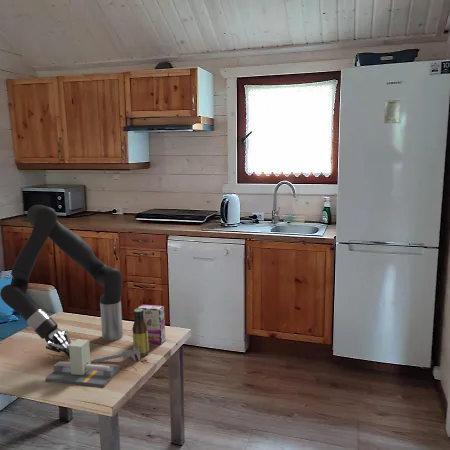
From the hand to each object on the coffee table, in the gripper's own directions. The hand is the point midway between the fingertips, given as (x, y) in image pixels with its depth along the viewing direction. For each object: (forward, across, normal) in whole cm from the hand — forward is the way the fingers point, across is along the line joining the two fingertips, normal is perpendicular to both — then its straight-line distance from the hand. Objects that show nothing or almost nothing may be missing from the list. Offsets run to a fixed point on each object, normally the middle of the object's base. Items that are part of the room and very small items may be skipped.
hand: (72, 355), depth 173 cm
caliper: (+13, +13, -2) cm, 19 cm away
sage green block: (+6, 0, +2) cm, 7 cm away
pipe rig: (+8, 0, +2) cm, 9 cm away
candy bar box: (+19, +34, -8) cm, 40 cm away
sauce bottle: (+19, +21, -8) cm, 29 cm away
